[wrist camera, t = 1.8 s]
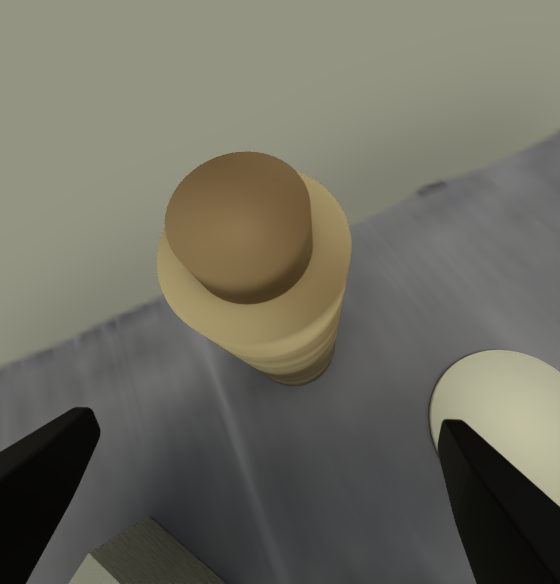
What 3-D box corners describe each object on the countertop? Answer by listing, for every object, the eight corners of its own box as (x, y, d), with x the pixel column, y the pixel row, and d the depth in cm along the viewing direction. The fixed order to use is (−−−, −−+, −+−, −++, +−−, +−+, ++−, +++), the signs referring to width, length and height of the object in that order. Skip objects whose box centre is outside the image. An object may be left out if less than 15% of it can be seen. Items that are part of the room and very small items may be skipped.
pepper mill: (308, 402, 19) (273, 379, 6) (240, 359, 20) (76, 254, 7) (348, 331, 20) (400, 166, 7) (281, 294, 21) (210, 94, 8)
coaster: (567, 555, 15) (573, 559, 15) (404, 453, 18) (405, 454, 17) (617, 400, 17) (623, 400, 17) (463, 325, 19) (466, 324, 19)
